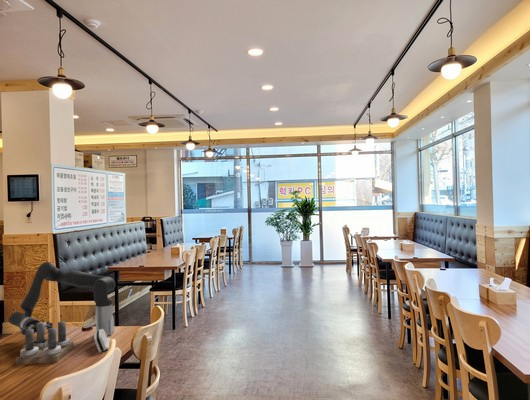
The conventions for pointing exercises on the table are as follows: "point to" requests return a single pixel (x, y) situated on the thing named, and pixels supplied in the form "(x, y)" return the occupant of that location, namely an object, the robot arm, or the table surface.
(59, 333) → the upturned partly assembled table
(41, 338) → the loose leg
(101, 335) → the white arched grooved block
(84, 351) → the table surface
